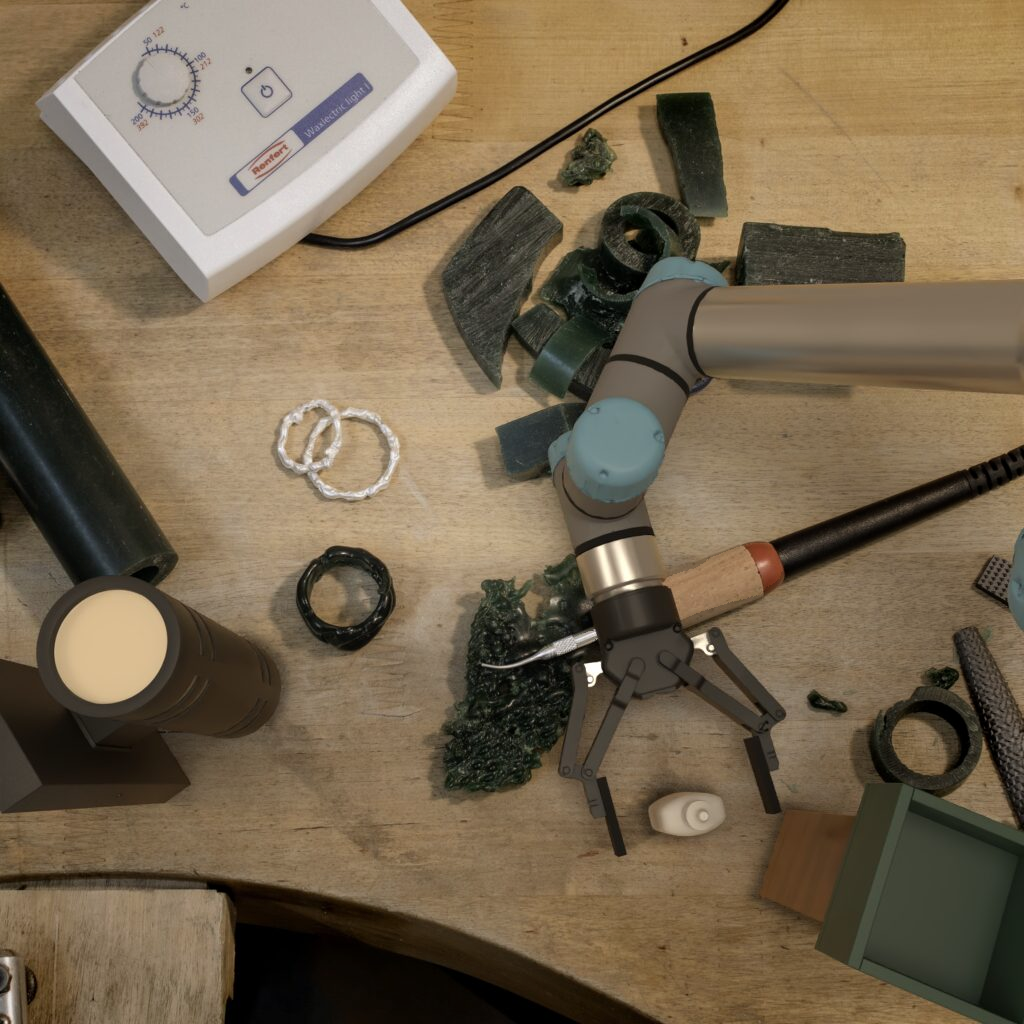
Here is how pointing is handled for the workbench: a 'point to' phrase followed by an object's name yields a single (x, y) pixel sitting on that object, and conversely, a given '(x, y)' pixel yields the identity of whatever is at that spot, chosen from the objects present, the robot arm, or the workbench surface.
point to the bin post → (807, 860)
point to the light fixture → (122, 697)
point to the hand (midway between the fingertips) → (698, 834)
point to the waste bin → (932, 903)
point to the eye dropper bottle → (687, 813)
